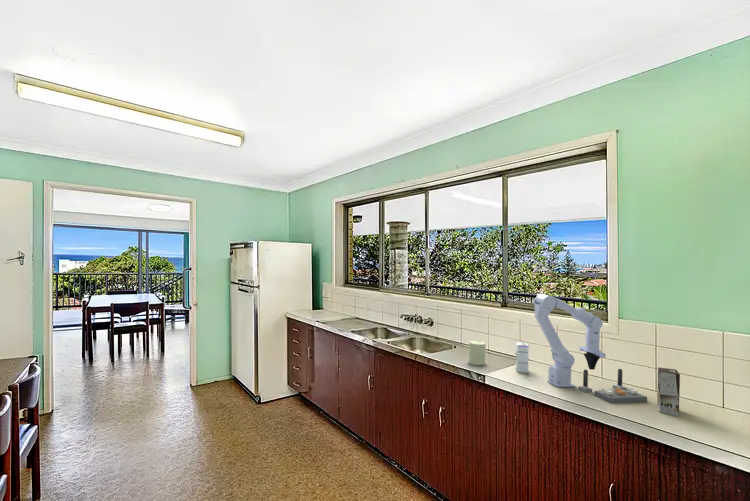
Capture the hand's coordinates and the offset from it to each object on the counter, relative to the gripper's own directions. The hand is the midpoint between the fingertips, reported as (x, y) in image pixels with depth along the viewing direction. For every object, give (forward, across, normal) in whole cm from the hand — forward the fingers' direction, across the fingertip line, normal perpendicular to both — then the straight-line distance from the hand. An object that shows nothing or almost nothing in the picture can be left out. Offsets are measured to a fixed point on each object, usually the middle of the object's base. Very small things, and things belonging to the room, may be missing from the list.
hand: (591, 369), depth 181 cm
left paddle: (+5, -17, +6) cm, 19 cm away
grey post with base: (+8, -7, -9) cm, 14 cm away
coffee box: (+8, -31, -9) cm, 33 cm away
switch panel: (+8, -17, 0) cm, 19 cm away
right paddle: (+5, -17, -6) cm, 19 cm away
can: (+8, +40, +40) cm, 57 cm away
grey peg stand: (+8, -7, +9) cm, 14 cm away
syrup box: (+8, +24, +22) cm, 33 cm away
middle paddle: (+5, -17, 0) cm, 18 cm away
